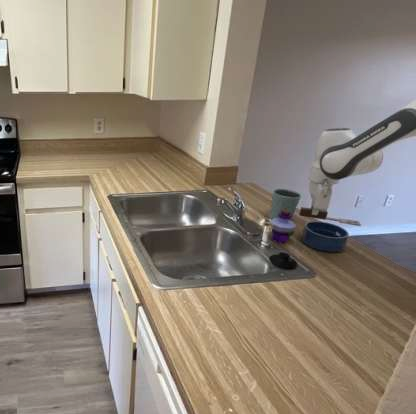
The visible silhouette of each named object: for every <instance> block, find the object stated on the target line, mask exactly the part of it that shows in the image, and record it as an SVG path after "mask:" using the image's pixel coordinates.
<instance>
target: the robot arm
mask: <svg viewBox="0 0 416 414" xmlns="http://www.w3.org/2000/svg"><path fill="white" fill-rule="evenodd" d="M412 137H416V98H414V99H413V100H412V101H410V102H408V103H407V104H406V105H404V106H402V107H401V108H400V109H398V110H396V111H395V112H394V113H393V114H391V115H390V116H388V117H387V118H384V119H383V120H382V121H379V122H378V123H376V124H375V125H373V126H371V127H370V128H368V129H367V130H365V131H363V132H361V133H360V134H359V135H357V134H356V133H355V132H354V131H353V130H352V129H351V128H347V127H337V128H336V127H335V128H328V129H325V130H324V131H323V132H321V134H320V137H319V138H318V141H317V144H316V147H315V151H314V159H313V162H312V163H311V166H310V168H309V169H310V170H309V173H308V177H307V179H308V180H309V185H308V191H309V195H310V199H311V204H310V208H311V209H312V215H318V212H319V210H322V211H328V209H329V207H330V203H331V198H332V194H333V189H332V188H333V187H334V185H338V184H339V182H340V180H342V179H346V178H349V177H354V176H359V175H365V174H369V173H372V172H374V171H376V170H377V169H379V167H380V166H381V165H382V163H383V160H384V155H383V151H382V150H383V149H385V148H387V147H389V146H391V145H392V144H394V143H397V142H399V141H402V140H406V139H409V138H412Z"/></svg>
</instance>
